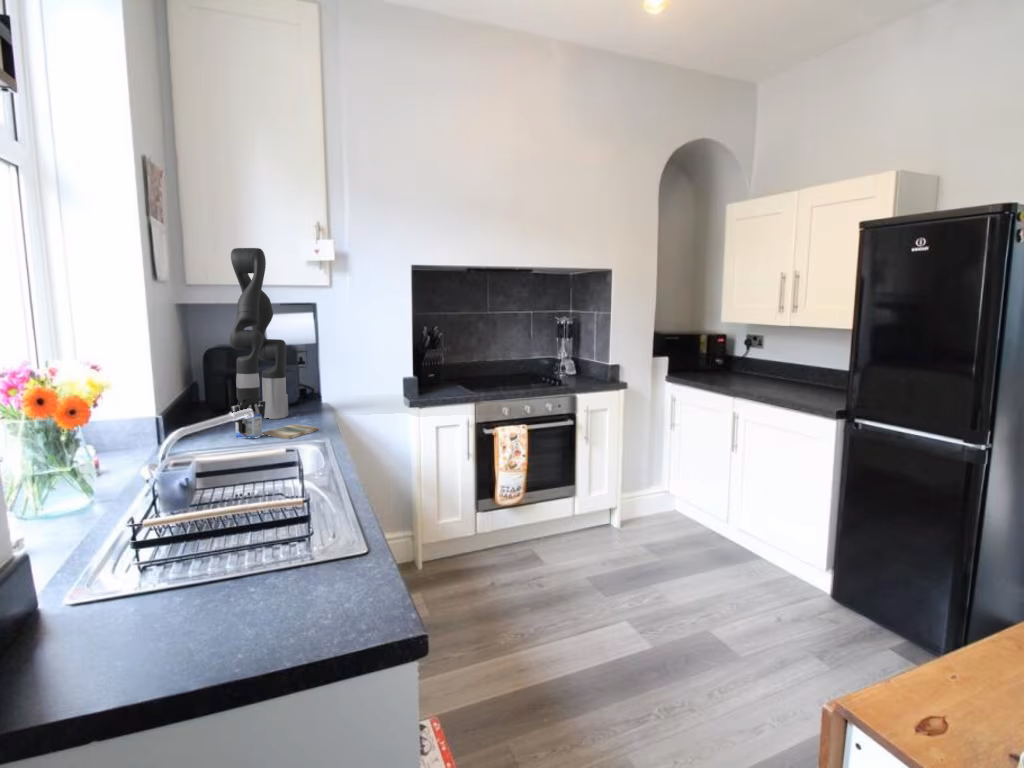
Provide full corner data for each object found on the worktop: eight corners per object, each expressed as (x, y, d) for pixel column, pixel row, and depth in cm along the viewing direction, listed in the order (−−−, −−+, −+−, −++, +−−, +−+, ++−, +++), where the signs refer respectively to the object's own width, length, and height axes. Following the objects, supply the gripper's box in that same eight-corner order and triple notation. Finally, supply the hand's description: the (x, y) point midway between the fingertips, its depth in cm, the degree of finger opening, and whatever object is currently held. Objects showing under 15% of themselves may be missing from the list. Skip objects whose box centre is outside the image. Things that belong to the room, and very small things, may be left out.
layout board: (293, 427, 219) (293, 423, 219) (318, 430, 215) (318, 426, 215) (262, 435, 204) (262, 431, 204) (288, 439, 200) (288, 435, 200)
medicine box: (235, 437, 200) (234, 413, 199) (244, 434, 204) (243, 411, 203) (254, 439, 198) (253, 415, 197) (262, 436, 202) (261, 413, 201)
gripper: (255, 382, 206) (256, 427, 209) (223, 387, 193) (225, 434, 195) (271, 384, 204) (272, 429, 206) (240, 388, 190) (241, 436, 193)
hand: (249, 431), depth 201 cm, fingers open, 5 cm apart
